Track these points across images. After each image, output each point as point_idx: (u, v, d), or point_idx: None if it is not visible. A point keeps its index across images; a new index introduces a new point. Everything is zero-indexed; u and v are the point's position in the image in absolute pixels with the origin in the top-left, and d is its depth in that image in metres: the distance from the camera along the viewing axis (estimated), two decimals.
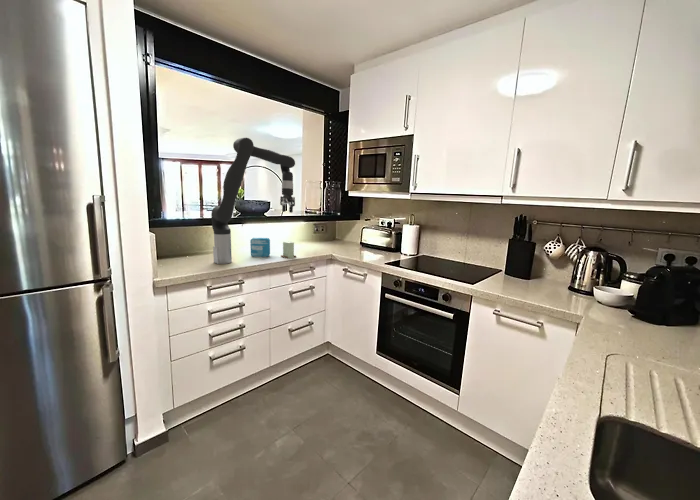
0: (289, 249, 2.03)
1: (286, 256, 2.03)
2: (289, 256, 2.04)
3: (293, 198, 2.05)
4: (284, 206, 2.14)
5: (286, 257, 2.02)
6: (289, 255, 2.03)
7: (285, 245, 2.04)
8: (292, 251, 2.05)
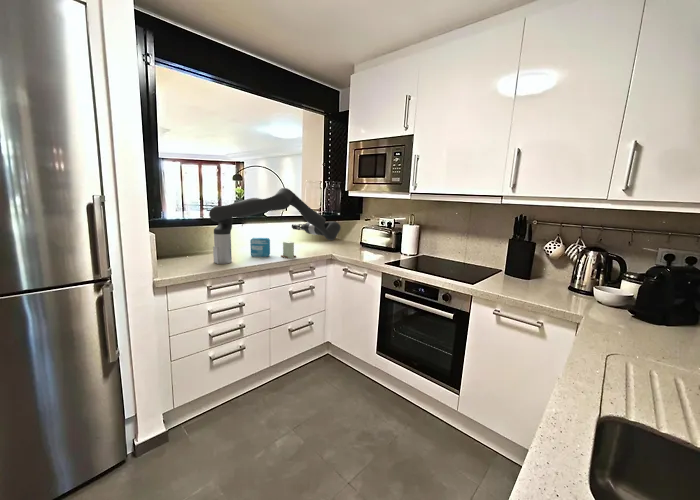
0: (289, 249, 2.03)
1: (286, 256, 2.03)
2: (289, 256, 2.04)
3: (297, 228, 1.85)
4: None
5: (286, 257, 2.02)
6: (289, 255, 2.03)
7: (285, 245, 2.04)
8: (292, 251, 2.05)
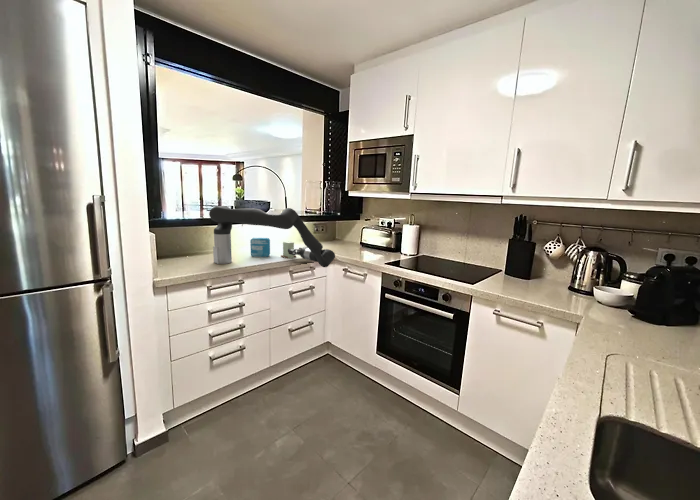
0: None
1: (286, 256, 2.03)
2: (289, 256, 2.04)
3: (293, 253, 1.90)
4: None
5: (286, 257, 2.02)
6: (289, 255, 2.03)
7: (285, 245, 2.04)
8: None
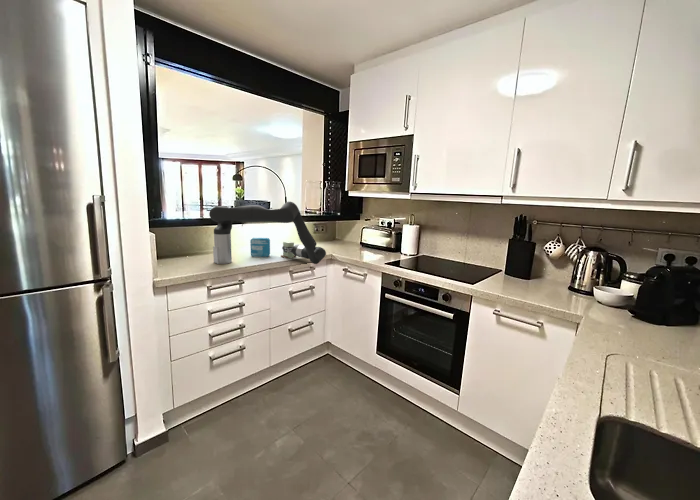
0: None
1: (286, 256, 2.03)
2: (289, 256, 2.04)
3: (285, 250, 1.97)
4: None
5: (286, 257, 2.02)
6: (289, 255, 2.03)
7: (285, 245, 2.04)
8: None
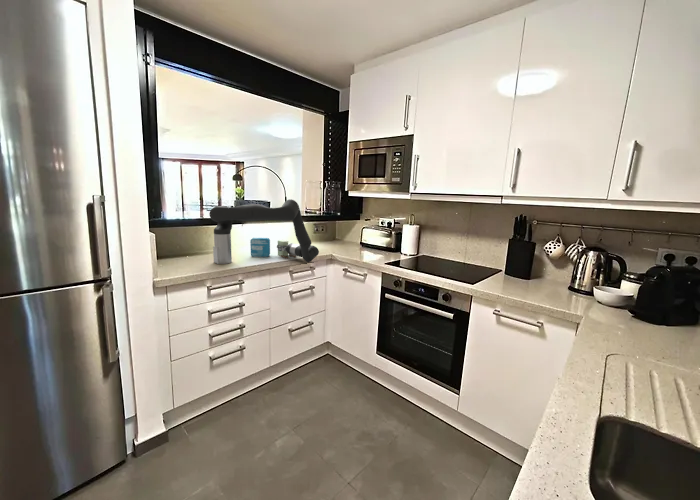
0: None
1: (286, 256, 2.03)
2: (284, 255, 2.09)
3: (279, 249, 2.02)
4: None
5: (286, 257, 2.02)
6: (283, 253, 2.08)
7: (279, 243, 2.09)
8: None
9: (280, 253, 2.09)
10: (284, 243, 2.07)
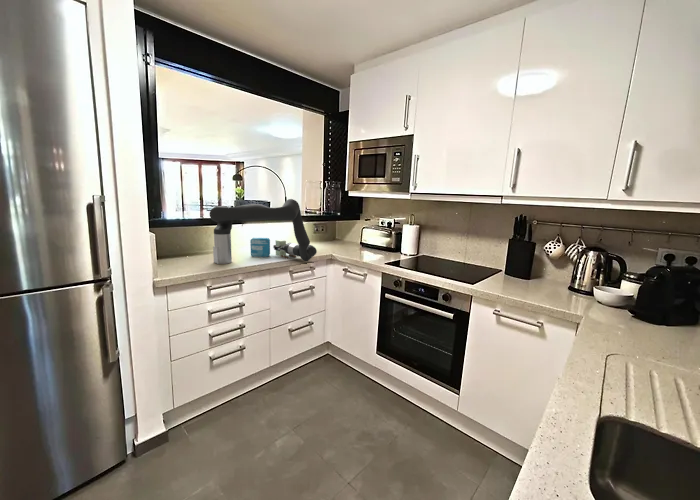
0: None
1: (286, 256, 2.03)
2: (282, 254, 2.11)
3: (278, 249, 2.02)
4: None
5: (286, 257, 2.02)
6: (281, 253, 2.10)
7: (277, 243, 2.11)
8: None
9: (278, 252, 2.11)
10: (282, 243, 2.09)
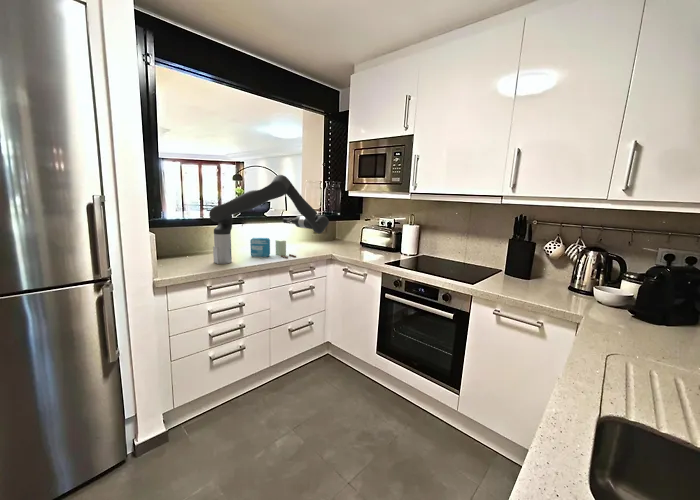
0: (282, 247, 2.10)
1: (286, 256, 2.03)
2: (281, 254, 2.11)
3: (288, 221, 1.91)
4: None
5: (286, 257, 2.02)
6: (281, 253, 2.10)
7: (277, 243, 2.11)
8: (284, 249, 2.11)
9: (278, 252, 2.11)
10: (282, 243, 2.09)
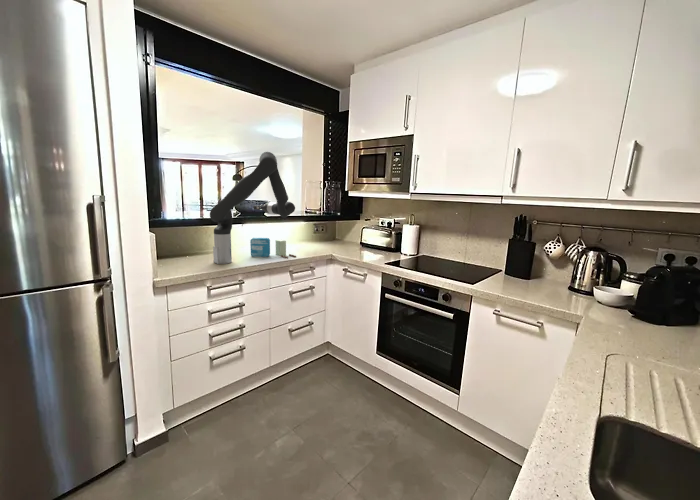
0: (282, 247, 2.10)
1: (286, 256, 2.03)
2: (282, 254, 2.11)
3: (257, 208, 2.00)
4: None
5: (286, 257, 2.02)
6: (281, 253, 2.10)
7: (277, 243, 2.11)
8: (284, 249, 2.11)
9: (278, 252, 2.11)
10: (282, 243, 2.09)
